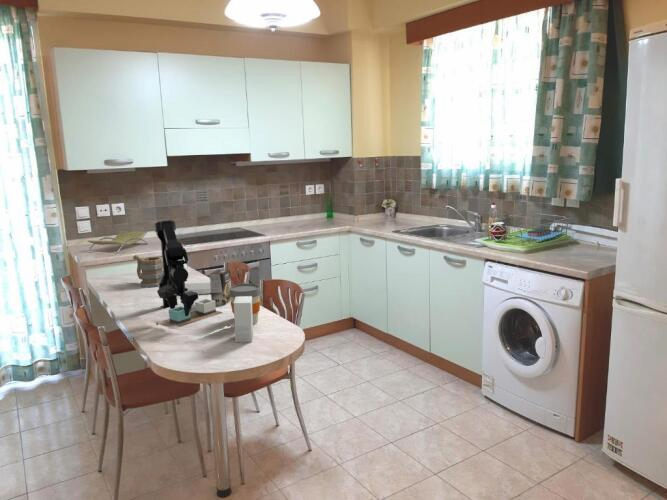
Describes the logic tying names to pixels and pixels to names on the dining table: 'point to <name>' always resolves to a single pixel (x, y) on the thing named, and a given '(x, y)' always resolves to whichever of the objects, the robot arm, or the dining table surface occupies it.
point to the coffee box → (220, 286)
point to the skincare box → (243, 319)
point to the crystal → (198, 286)
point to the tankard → (149, 271)
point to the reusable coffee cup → (247, 291)
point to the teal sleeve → (178, 315)
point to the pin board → (193, 317)
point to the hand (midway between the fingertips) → (179, 313)
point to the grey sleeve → (205, 307)
